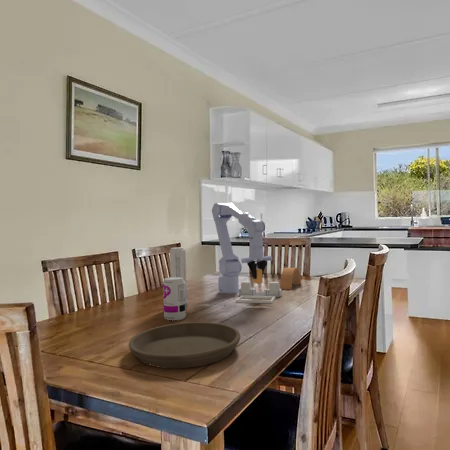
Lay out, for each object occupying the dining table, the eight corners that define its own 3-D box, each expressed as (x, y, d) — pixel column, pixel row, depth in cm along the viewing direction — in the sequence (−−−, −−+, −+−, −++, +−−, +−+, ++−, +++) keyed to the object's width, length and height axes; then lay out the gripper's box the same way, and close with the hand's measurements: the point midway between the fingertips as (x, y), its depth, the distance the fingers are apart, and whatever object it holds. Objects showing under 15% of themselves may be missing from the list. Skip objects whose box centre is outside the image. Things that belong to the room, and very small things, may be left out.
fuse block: (237, 298, 182) (237, 290, 182) (241, 295, 189) (241, 287, 189) (280, 299, 176) (279, 291, 176) (282, 296, 183) (282, 288, 183)
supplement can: (168, 322, 144) (166, 280, 144) (161, 317, 152) (159, 278, 151) (189, 319, 148) (187, 278, 148) (181, 314, 155) (179, 275, 155)
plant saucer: (105, 366, 104) (104, 348, 104) (164, 332, 133) (163, 318, 133) (216, 379, 93) (215, 359, 93) (254, 339, 122) (254, 324, 122)
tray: (236, 304, 170) (235, 299, 170) (241, 299, 179) (241, 295, 179) (271, 305, 165) (271, 300, 165) (275, 300, 174) (275, 296, 174)
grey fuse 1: (241, 295, 184) (240, 282, 184) (242, 294, 186) (242, 281, 186) (249, 295, 183) (249, 282, 183) (251, 294, 185) (250, 281, 185)
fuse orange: (253, 282, 178) (252, 268, 178) (257, 281, 180) (257, 268, 179) (257, 283, 175) (257, 269, 175) (262, 283, 176) (262, 268, 176)
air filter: (190, 305, 170) (187, 246, 170) (182, 309, 165) (179, 248, 164) (177, 304, 173) (174, 246, 173) (168, 308, 167) (166, 248, 167)
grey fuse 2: (269, 296, 180) (268, 282, 180) (270, 294, 182) (270, 281, 182) (278, 296, 179) (277, 282, 179) (279, 295, 181) (278, 281, 181)
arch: (301, 284, 212) (300, 265, 212) (291, 291, 194) (290, 270, 194) (290, 283, 215) (290, 265, 214) (279, 290, 197) (279, 270, 196)
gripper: (246, 249, 170) (247, 280, 170) (275, 246, 176) (276, 277, 176) (238, 248, 176) (239, 278, 177) (267, 245, 183) (268, 275, 183)
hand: (257, 278), depth 177 cm, fingers closed on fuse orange, 2 cm apart
